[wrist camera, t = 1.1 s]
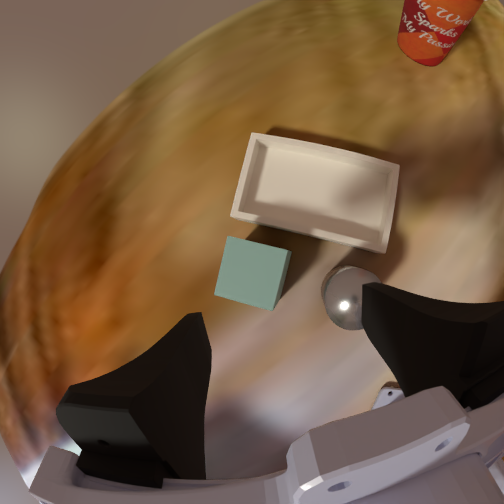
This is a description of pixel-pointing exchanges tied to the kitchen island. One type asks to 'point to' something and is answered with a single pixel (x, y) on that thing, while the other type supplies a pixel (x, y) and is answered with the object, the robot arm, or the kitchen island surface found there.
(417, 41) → the paper cup
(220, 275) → the teal block
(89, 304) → the kitchen island surface
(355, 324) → the silver metal cylinder
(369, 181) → the parts tray
